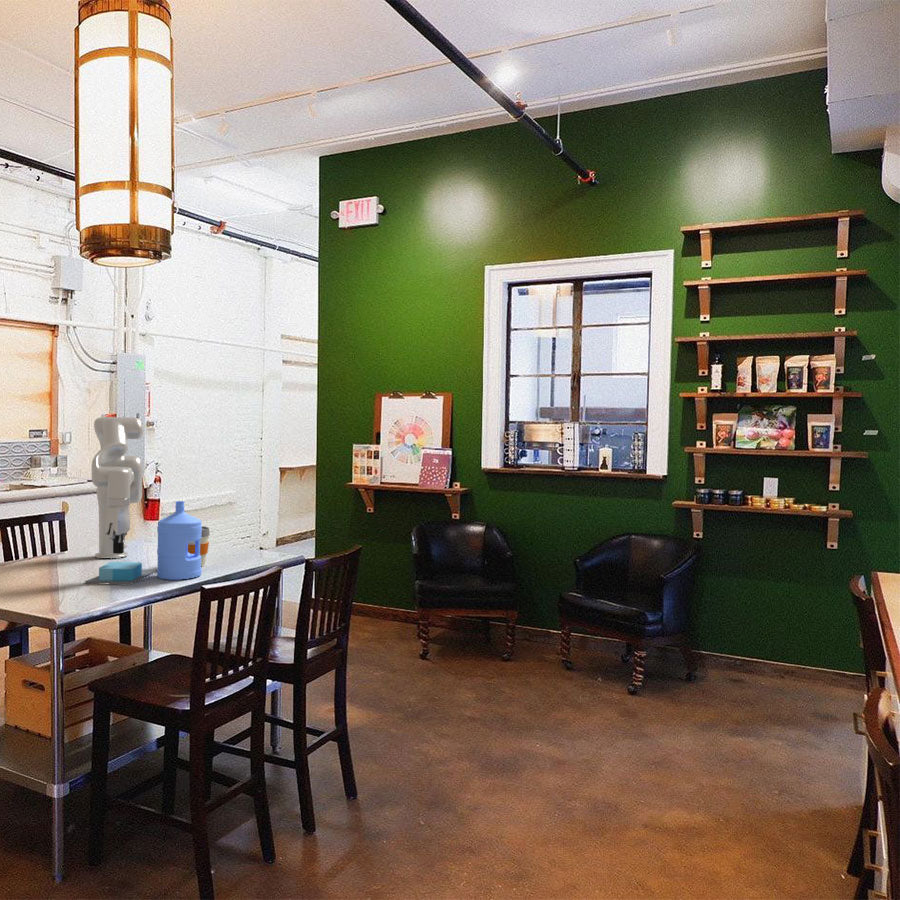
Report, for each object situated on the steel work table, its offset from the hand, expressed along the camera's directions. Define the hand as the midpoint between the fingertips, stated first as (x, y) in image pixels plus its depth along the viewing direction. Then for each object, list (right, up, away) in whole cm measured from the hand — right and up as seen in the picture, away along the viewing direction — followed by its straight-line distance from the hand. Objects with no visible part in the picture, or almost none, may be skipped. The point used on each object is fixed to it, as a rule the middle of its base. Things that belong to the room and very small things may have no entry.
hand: (118, 553), depth 277 cm
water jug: (+19, -10, +8) cm, 23 cm away
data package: (0, -6, +6) cm, 9 cm away
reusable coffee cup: (+18, -9, +28) cm, 34 cm away
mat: (0, -10, +3) cm, 10 cm away
